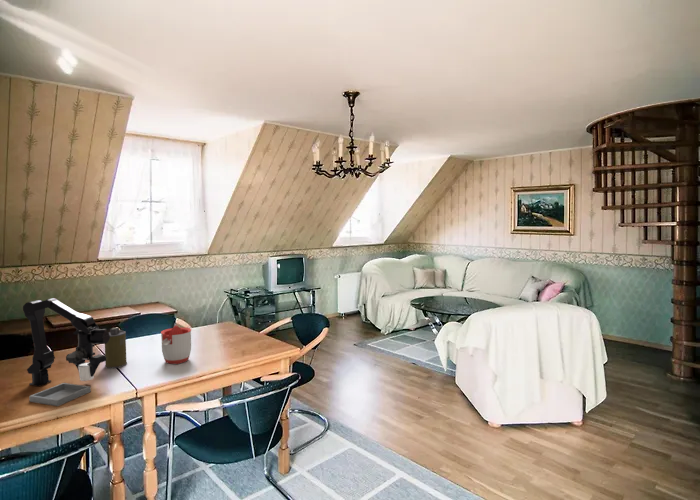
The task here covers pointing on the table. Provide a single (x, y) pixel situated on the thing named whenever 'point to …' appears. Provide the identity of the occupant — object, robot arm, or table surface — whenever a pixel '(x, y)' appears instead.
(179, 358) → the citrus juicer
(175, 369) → the table surface
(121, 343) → the canister
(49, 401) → the tray
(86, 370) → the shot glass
